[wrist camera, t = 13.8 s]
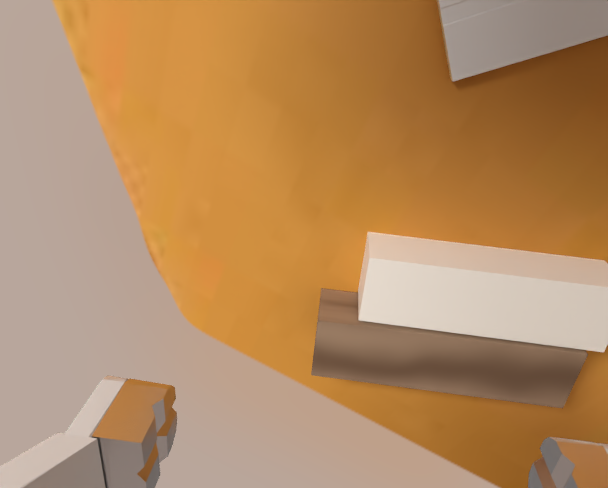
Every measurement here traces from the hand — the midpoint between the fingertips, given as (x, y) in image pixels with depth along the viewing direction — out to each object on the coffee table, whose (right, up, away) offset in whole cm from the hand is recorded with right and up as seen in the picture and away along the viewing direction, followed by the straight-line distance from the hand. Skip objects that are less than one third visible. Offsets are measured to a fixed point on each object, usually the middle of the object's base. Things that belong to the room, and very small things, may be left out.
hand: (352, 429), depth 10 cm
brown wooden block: (+11, -4, +34) cm, 36 cm away
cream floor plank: (+14, +1, +31) cm, 34 cm away
